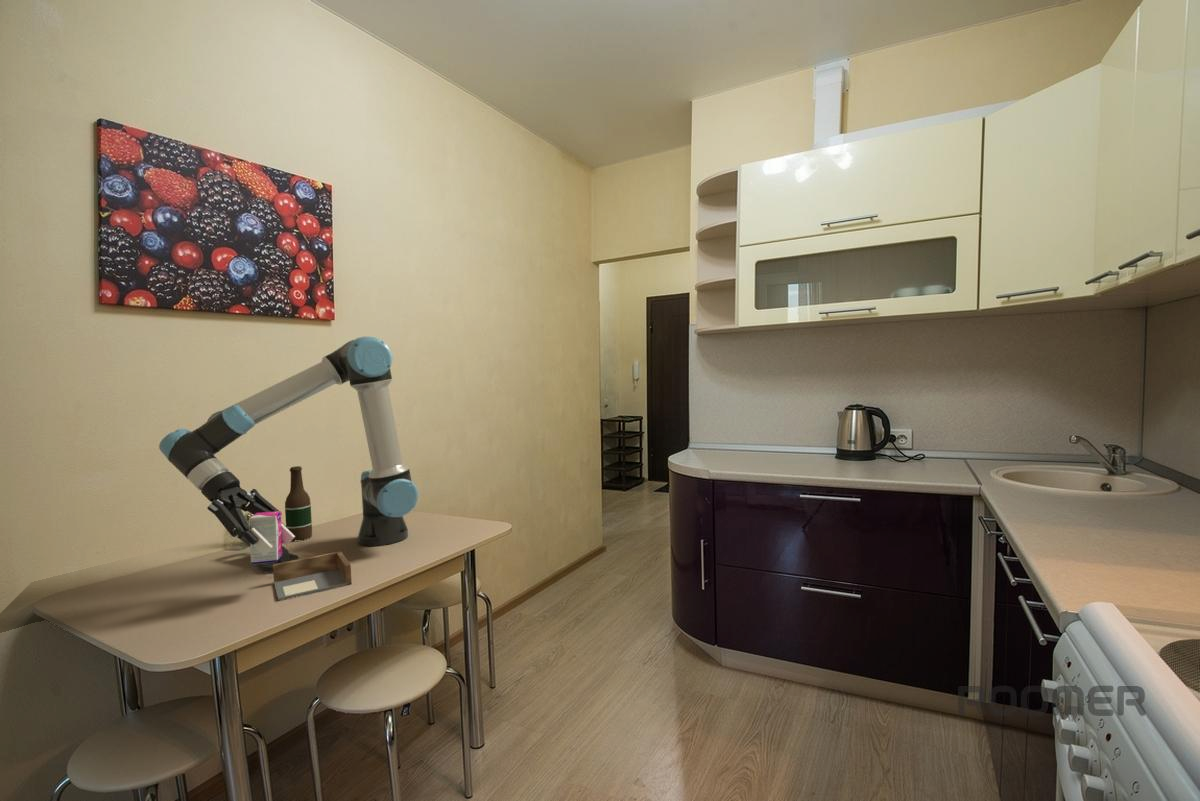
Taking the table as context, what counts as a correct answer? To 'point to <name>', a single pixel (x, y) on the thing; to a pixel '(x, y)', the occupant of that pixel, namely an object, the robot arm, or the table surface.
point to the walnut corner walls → (313, 567)
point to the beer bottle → (298, 507)
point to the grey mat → (309, 584)
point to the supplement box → (267, 536)
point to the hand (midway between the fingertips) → (279, 545)
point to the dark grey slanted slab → (284, 558)
